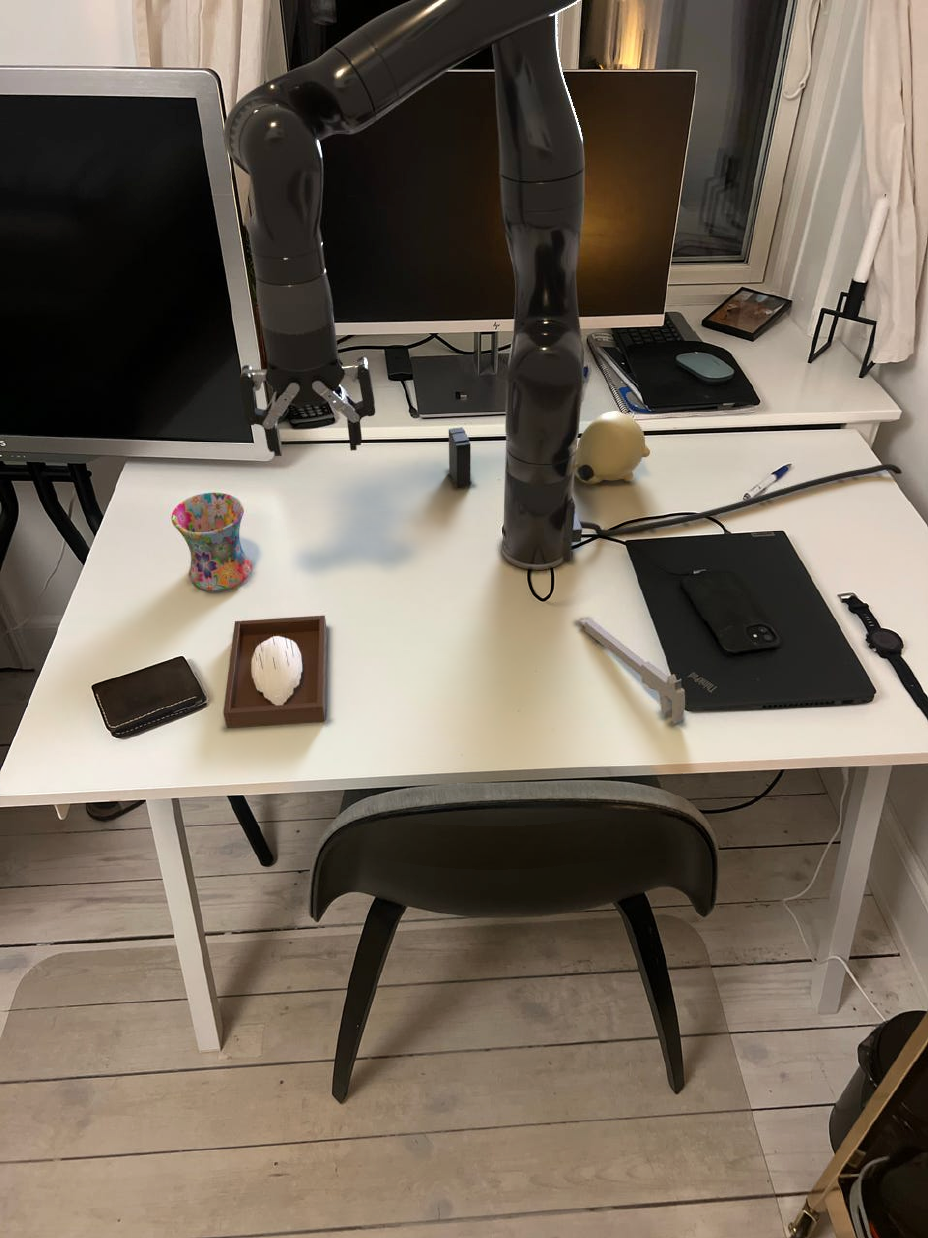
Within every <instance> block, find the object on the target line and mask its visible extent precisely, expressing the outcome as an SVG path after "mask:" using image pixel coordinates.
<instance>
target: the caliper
mask: <svg viewBox="0 0 928 1238" xmlns="http://www.w3.org/2000/svg"><path fill="white" fill-rule="evenodd" d="M578 623H579V624H580V625H581V626H582V627H584V631H585V632H586V633H588V635H589V636H591V637H592V638H593V639H595V640H596V641H597V642H598V643H600V644H601V645H602V646H603V647H605V648H606V649H607V650H608V651H610V652H611V653H612V654H613V655H615V656H616V657H617V658H618V659H620V660H621V661H622V662H623V663H624V664H626V665H627V666H628V667H629V668H631V669H632V670H633V671H634V672H635V673H637V675H639V676H640V677H641V683H642V684H644V685H646V686H647V687H648V688H649V689H650V690H652V691H656V692H657V693H658V696H659V697H658V698H659V701H660V706H661V712H662V714H663V717H664V718H666V717H669V716H671V723H672V724H675V725H676V724H678V723H680V722H682V721H683V717H684V712H685V708H686V691H685V689H684V688H683V686H682V678H680V679H677V677H676V674H675V673H674V674H671V675H669V676H668V675H667V674H665V673H664V672H663V671H662V670H661V669H659V668H658V667H656V666H655V665H654V664H652V662H650V661H645V660H644V659H643V658H642V657H640V656H639V655H638V654H637V653H635V652H634V651H632V649H630V648H629V647H627V646H626V645H625V644H624V643H622V642H621V641H620V640H619V639H617V638H616V637H615V636H613V634H611V633H610V632H609V631H607V630H606V629H605V628H603V627H602V626H601V625H599V624H598V623H597V622H596V621H594V620H593V619H592V618H589V619H588V618H583V619H581V620H578Z"/></svg>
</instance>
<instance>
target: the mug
mask: <svg viewBox="0 0 928 1238" xmlns="http://www.w3.org/2000/svg"><path fill="white" fill-rule="evenodd" d="M244 513H245V509H244V505H243V503H242V502H241V500H240V499H238V498H237V497H235V496H234V495H231V494H228V493H223V492H206V493H200V494H196V495H193V496H191V497H188V498H185V500H182V501H181V502H180V503H179V504H177V505H176V506H175V508H174V509H173V511H172V513H171V522H172V525H173V527H174V528H175V529H176V530H177V531H178V532H179V533H180V534H181V536H182V537H183V539H184V541H185V542H186V545H187V547H188V551H189V554H190V567H189V569H188V578H189V580H190V582H192V584H193V585H195V586H196V587H198V588H200V589H203V590H206V591H224V590H228V589H231V588H234V587H237V586H239V585H240V584H241V583H243V582H244V581H245V580H246V579H247V578H248V577H249V575H250V574H251V571H252V563H251V560H250V558H249V557H248V556H247V555H246V554H245V552H244V550H243V547H242V545H241V539H240V529H241V523H242V519H243V516H244Z"/></svg>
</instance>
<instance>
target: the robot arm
mask: <svg viewBox="0 0 928 1238" xmlns="http://www.w3.org/2000/svg"><path fill="white" fill-rule="evenodd" d="M579 1H580V0H409V1H407V2H403V3H402V4H400V5H398V6H395V7H394V8H392V9H389V10H387V11H385V12H384V13H381V14H380V15H378V16H376V17H375V18H373V19H371V20H369V21H368V22H367V23H365V24H363V25H362V26H361V27H359V28H357V29H356V30H355V31H353V32H351V33H350V34H349V35H348V36H346V37H344V38H343V39H342V40H340V41H339V42H337V43H336V44H335V45H333V46H332V47H331V48H329V49H328V50H327V51H325V52H324V53H323V54H322V55H321V56H319V57H317V58H316V59H315V60H313V61H311V62H308V63H306V64H305V65H302V66H299V67H296V68H294V69H292V70H289V71H287V72H285V73H283V74H281V75H279V76H276V77H274V78H273V79H271V80H267V81H266V82H264V83H263V84H261V85H259V86H256V87H255V88H253V89H252V90H251V91H249V92H247V93H246V94H245V95H244V96H242V97H241V98H240V99H239V100H238V101H237V102H236V103H235V104H234V106H232V108H231V109H230V111H229V113H228V115H227V117H226V119H225V123H224V127H223V141H224V146H225V149H226V151H227V153H228V155H229V157H230V159H231V161H233V163H234V164H235V165H236V166H237V167H238V168H239V169H241V170H242V171H243V172H244V173H245V174H247V175H248V176H249V178H250V182H251V186H252V187H251V188H252V193H253V202H254V212H255V213H254V214H253V215H251V218H250V219H249V222H248V238H249V239H248V240H249V246H250V253H251V259H252V264H253V270H254V275H255V290H256V292H255V293H256V302H257V308H258V309H257V310H258V314H259V321H260V326H261V332H262V337H263V343H264V348H265V355H266V361H267V367H266V368H265V369H264V368H262V369H253V367H252V366H251V365H250V364H249V365H248V364H245V365H243V366H242V367H241V371H240V372H241V373H240V389H241V397H242V398H241V399H242V405H243V415H244V420H245V423H246V424H247V425H248V426H254V425H258V426H261V427H262V429H263V431H264V435H265V441H266V446H267V449H268V451H269V452H270V453H274V457H282V456H283V455H282V454H283V453H282V452H283V446H282V440H281V439H282V438H281V432H280V428H279V422H278V421H279V419H280V417H282V416H283V415H284V413H285V412H286V410H287V409H288V407H289V406H294V408H296V409H297V408H304V407H306V406H312V407H313V406H315V407H323V406H324V405H325V404H326V403H329V405H330V406H332V408H334V409H335V410H336V411H337V412H340V413H341V414H342V415H343V416H344V417H345V418H346V422H347V423H346V424H347V432H348V440H349V449H350V451H357V450H358V449H357V448H358V447H357V446H361V445H362V442H363V436H362V427H361V426H362V425H361V420H362V419H363V418H365V417H373V416H374V415H375V414H376V406H375V405H376V403H375V396H374V390H373V383H372V377H371V371H370V365H369V360H368V359H367V358H366V357H365V356H361V357H358V359H357V360H356V361H354V362H346V363H343V362H342V360H341V359H340V356H339V350H338V341H337V333H336V332H337V331H336V325H335V316H334V301H333V297H332V292H331V287H330V282H329V280H328V279H329V278H328V275H327V270H326V262H325V255H324V253H325V252H324V245H323V238H322V232H321V226H320V225H321V216H322V210H323V195H324V194H323V193H324V192H323V191H324V160H323V153H322V149H321V144H320V141H322V140H325V139H326V138H328V137H330V136H332V135H337V134H338V135H339V134H342V135H353V134H357V133H360V132H361V131H363V130H364V129H367V128H368V127H370V126H371V125H372V124H375V122H377V121H378V120H380V119H381V118H382V117H385V115H386V114H388V113H389V112H391V111H392V110H394V109H395V108H396V107H397V106H400V105H401V104H402V103H404V102H405V101H406V100H408V99H409V98H410V97H412V96H413V95H414V94H415V93H417V92H418V91H421V90H422V89H423V88H424V87H426V86H428V85H429V84H431V82H433V81H435V80H436V79H438V78H439V77H441V76H442V75H444V74H445V73H447V72H448V71H450V70H451V69H453V68H455V67H456V66H458V65H460V64H461V63H463V62H464V61H466V60H467V59H469V58H472V57H473V56H474V55H476V54H478V53H480V52H482V51H483V50H485V49H487V48H489V47H491V49H492V56H493V68H494V85H495V107H496V108H495V109H496V122H497V123H496V124H497V134H498V135H497V138H498V175H499V195H500V196H499V197H500V209H501V216H502V224H503V230H504V235H505V236H504V237H505V240H506V245H507V250H508V253H509V257H510V261H511V265H512V270H513V277H514V291H515V292H514V317H513V320H514V321H513V329H512V338H511V343H510V348H509V356H508V362H507V364H508V365H507V370H506V380H505V381H506V382H505V383H506V384H505V421H504V422H505V423H504V424H505V425H504V427H505V428H504V431H505V458H504V459H505V461H504V463H505V465H504V466H505V467H504V493H503V494H504V495H503V522H502V534H501V535H502V542H501V552H502V555H503V557H504V558H505V559H506V561H508V562H509V563H511V564H512V565H514V566H516V567H519V568H521V569H525V570H531V571H543V570H548V569H552V568H555V567H557V566H559V565H560V564H562V563H564V562H570V561H571V558H572V557H571V556H572V547H573V543H581V542H582V536H583V529H586V530H587V529H589V530H593V531H595V533H596V535H599V536H601V537H615V536H623V535H630V534H634V533H639V532H643V531H648V530H653V529H658V528H665V527H670V526H675V525H680V524H684V523H689V522H693V521H697V520H702V519H706V518H710V517H714V516H718V515H722V514H725V513H728V512H732V511H734V510H739V509H742V508H746V507H749V506H753V505H755V504H759V503H761V502H765V501H768V500H771V499H774V498H777V497H781V496H784V495H787V494H790V493H795V492H798V491H801V490H805V489H808V488H811V487H815V486H818V485H823V484H828V483H831V482H835V481H839V480H843V479H847V478H852V477H859V476H864V475H869V474H870V475H871V474H874V473H877V472H883V471H892V472H893V473H894V474H897V475H901V474H902V470H901V469H900V468H899V466H897V465H895V464H893V463H884V464H878V465H875V466H871V467H870V466H869V467H865V468H860V469H859V468H858V469H854V470H853V469H852V470H847V471H844V472H839V473H834V474H831V475H827V476H823V477H820V478H819V477H818V478H814V479H811V480H807V481H805V482H800V483H797V484H794V485H791V486H788V487H783V488H780V489H777V490H774V491H771V492H767V493H764V494H761V495H758V496H754V497H751V498H748V499H745V500H742V501H737V502H735V503H730V504H728V505H724V506H720V507H717V508H713V509H709V510H705V511H701V512H697V513H693V514H688V515H683V516H678V517H673V518H668V519H663V520H658V521H652V522H647V523H646V522H645V523H642V524H638V525H633V526H629V527H624V528H618V529H602V527H601V526H600V525H599V524H598V523H595V522H590V521H581V520H580V518H579V515H578V511H577V508H576V503H575V500H574V496H573V492H574V479H575V473H574V469H575V458H576V450H577V446H578V437H579V433H580V422H581V412H582V402H583V401H582V400H583V391H584V375H585V372H584V370H585V350H584V349H585V348H584V343H583V337H582V330H581V322H580V314H579V305H578V292H577V268H578V263H579V255H580V251H581V250H580V249H581V243H582V235H583V228H584V227H583V226H584V215H585V214H584V212H585V195H586V194H585V189H586V188H585V182H586V181H585V180H586V179H585V174H586V172H585V170H586V169H585V168H586V166H585V165H586V161H585V147H584V141H583V136H582V132H581V127H580V125H579V122H578V121H579V120H578V118H577V115H576V112H575V111H576V110H575V108H574V106H573V102H572V99H571V96H570V93H569V91H568V87H567V85H566V82H565V78H564V75H563V72H562V67H561V62H560V57H559V49H558V48H559V47H558V36H557V35H558V27H557V24H558V22H557V21H558V20H557V19H558V18H557V17H558V15H557V14H558V13H560V12H562V11H563V10H565V9H567V8H570V7H571V6H573V5H575V4H577V2H579ZM345 376H348V377H350V379H351V381H352V382H353V383H355V384H356V385H357V384H358V385H359V388H360V395H361V400H360V401H358V402H356V400H355V399H353V398H352V396H350V395H349V393H348V392H347V390H346V389H345V388H344V387H343V386H342V385H341V383H342V382H343V381H344V378H345ZM264 382H266V383H267V385H269V386H270V387H271V388H272V389H273V390H274V391H275V392H274V393H273V395H272V397H271V399H270V401H269V403H267V406H266V407H265V409H264V408H259V407H258V401H257V394H256V393H257V392H258V391H260V389H261V387H262V384H263V383H264Z"/></svg>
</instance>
